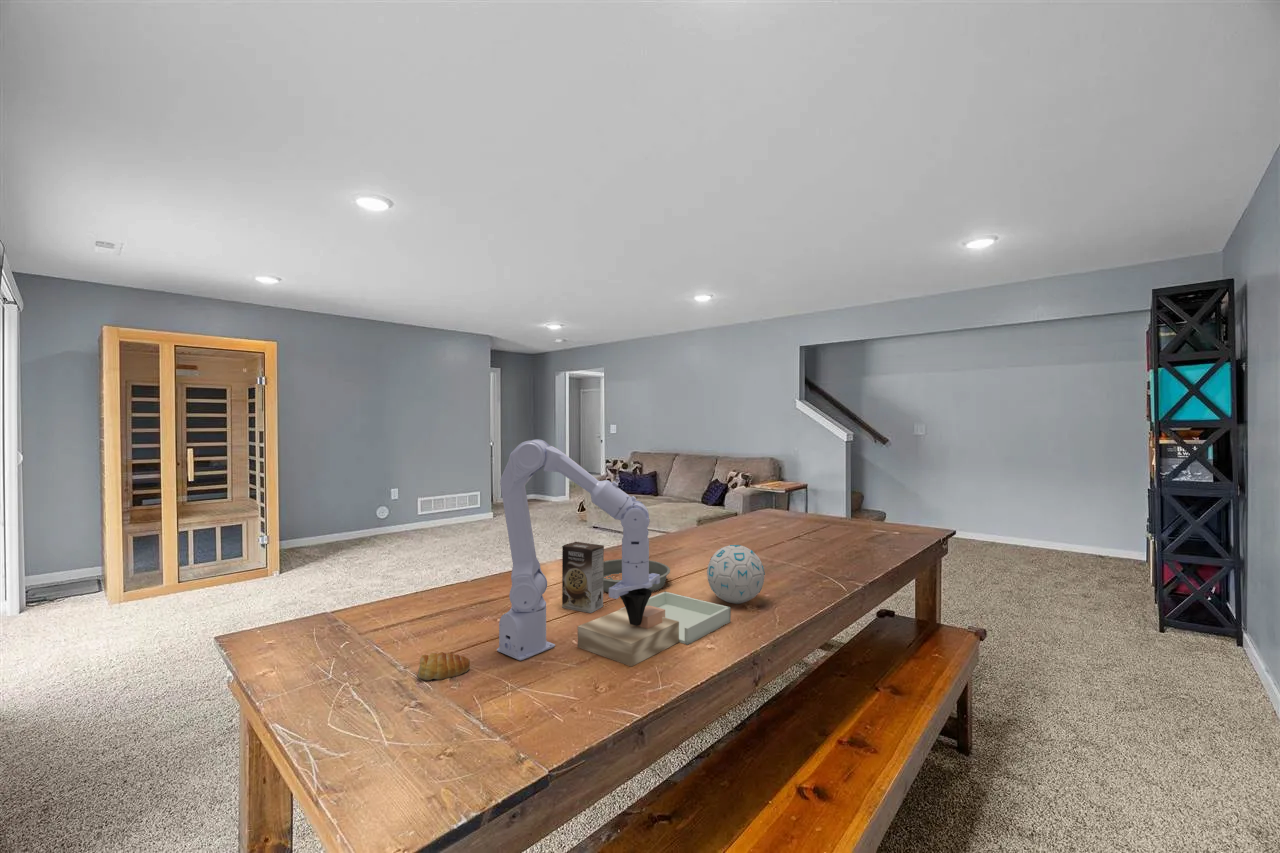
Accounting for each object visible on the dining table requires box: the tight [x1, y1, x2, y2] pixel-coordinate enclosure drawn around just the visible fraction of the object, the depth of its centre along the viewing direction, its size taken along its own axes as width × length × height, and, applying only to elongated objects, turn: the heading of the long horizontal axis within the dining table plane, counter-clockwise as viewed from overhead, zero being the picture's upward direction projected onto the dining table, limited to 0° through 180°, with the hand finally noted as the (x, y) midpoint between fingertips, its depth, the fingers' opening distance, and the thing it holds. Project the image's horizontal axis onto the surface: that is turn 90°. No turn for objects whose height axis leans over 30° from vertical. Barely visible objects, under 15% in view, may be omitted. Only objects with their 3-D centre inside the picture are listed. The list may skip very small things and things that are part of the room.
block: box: [577, 607, 680, 668], centre depth 124 cm, size 16×15×4 cm
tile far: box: [646, 605, 665, 618], centre depth 137 cm, size 5×5×2 cm
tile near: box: [639, 607, 662, 629], centre depth 124 cm, size 5×5×2 cm
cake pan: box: [603, 558, 671, 593], centre depth 170 cm, size 25×25×4 cm
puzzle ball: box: [706, 544, 766, 605], centre depth 153 cm, size 15×15×15 cm
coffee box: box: [561, 541, 605, 614], centre depth 148 cm, size 9×6×16 cm
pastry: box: [417, 651, 471, 681], centre depth 110 cm, size 9×7×4 cm
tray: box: [618, 591, 732, 646], centre depth 137 cm, size 18×20×4 cm
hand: (635, 624), depth 122 cm, fingers closed
